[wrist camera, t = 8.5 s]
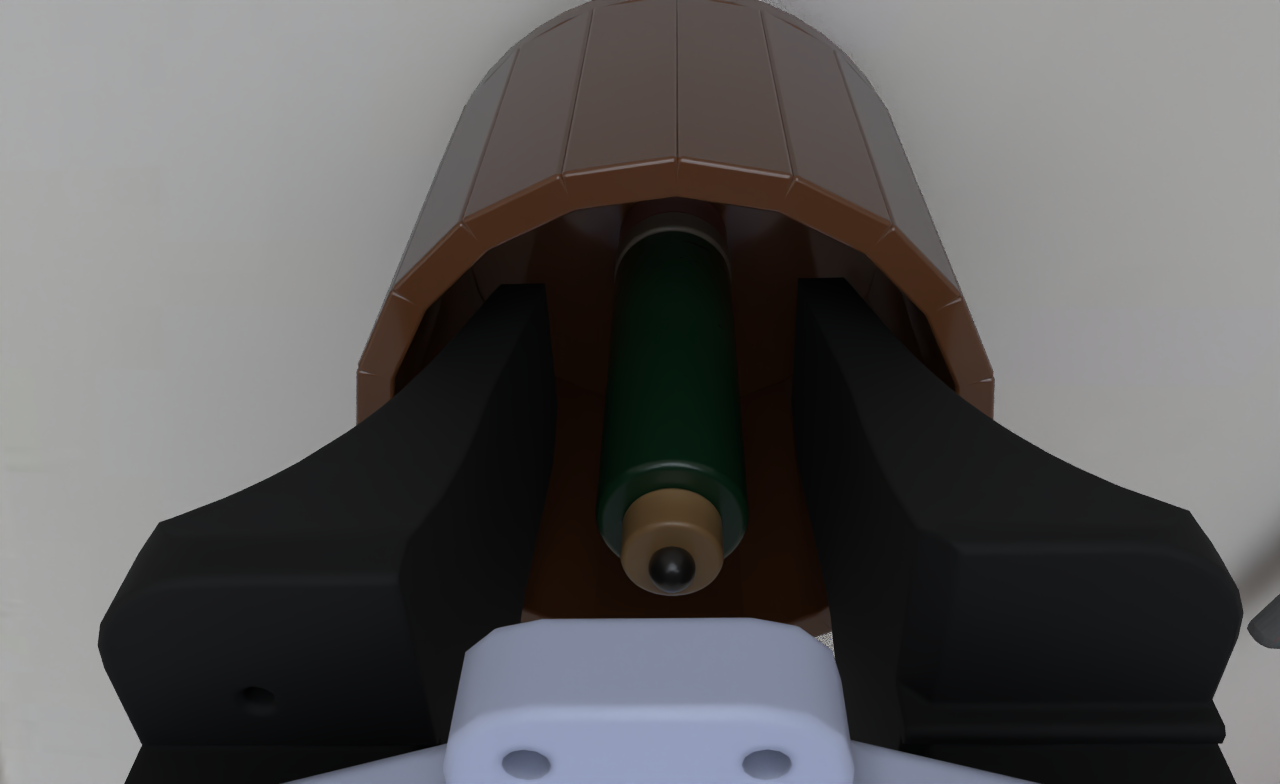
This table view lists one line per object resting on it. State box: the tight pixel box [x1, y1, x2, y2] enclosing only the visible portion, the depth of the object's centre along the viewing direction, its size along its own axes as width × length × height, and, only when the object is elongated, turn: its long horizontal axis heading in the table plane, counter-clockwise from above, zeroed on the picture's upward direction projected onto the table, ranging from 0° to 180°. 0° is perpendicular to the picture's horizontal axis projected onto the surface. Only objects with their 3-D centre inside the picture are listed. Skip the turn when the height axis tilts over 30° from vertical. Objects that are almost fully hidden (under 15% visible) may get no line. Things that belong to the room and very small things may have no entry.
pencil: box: [596, 197, 749, 596], centre depth 14 cm, size 2×2×8 cm
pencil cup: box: [356, 0, 995, 637], centre depth 16 cm, size 8×8×6 cm
